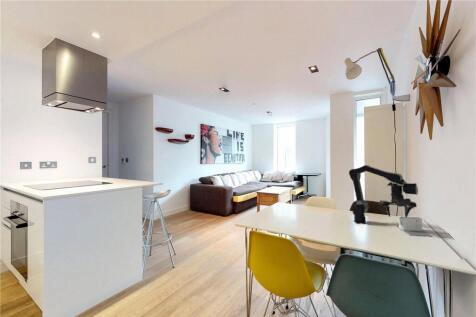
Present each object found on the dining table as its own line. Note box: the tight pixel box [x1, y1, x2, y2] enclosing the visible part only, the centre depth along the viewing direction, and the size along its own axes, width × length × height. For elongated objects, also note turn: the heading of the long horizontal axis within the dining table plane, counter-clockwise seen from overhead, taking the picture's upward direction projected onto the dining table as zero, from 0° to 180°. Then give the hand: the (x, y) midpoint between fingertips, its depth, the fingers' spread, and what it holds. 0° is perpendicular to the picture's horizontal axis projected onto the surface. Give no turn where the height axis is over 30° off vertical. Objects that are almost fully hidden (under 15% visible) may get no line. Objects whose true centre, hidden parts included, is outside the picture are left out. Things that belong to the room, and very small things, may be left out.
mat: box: [395, 224, 433, 238], centre depth 131 cm, size 11×18×1 cm, turn 164°
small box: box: [398, 215, 423, 231], centre depth 132 cm, size 8×6×10 cm
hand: (397, 216), depth 133 cm, fingers open, 9 cm apart
